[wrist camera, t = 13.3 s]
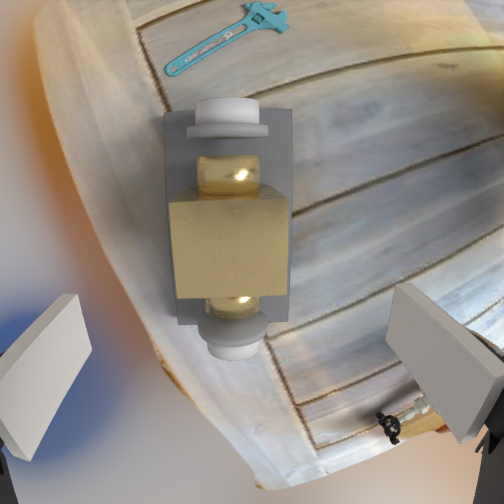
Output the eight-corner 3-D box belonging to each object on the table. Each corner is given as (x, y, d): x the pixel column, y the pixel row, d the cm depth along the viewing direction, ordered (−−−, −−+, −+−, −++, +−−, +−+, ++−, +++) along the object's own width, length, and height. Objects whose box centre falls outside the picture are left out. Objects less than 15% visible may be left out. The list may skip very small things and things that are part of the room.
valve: (433, 362, 40) (371, 407, 42) (454, 387, 34) (385, 436, 35) (442, 383, 42) (384, 424, 44) (460, 407, 36) (398, 451, 37)
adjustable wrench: (269, -8, 24) (297, 24, 25) (268, -4, 25) (295, 28, 26) (153, 55, 25) (179, 91, 27) (155, 58, 26) (180, 93, 28)
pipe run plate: (288, 111, 29) (311, 94, 20) (285, 315, 35) (302, 363, 27) (167, 114, 28) (142, 99, 19) (180, 318, 35) (166, 367, 26)
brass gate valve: (271, 154, 29) (288, 154, 20) (271, 284, 32) (285, 329, 24) (185, 157, 28) (166, 158, 19) (193, 286, 32) (181, 333, 23)
